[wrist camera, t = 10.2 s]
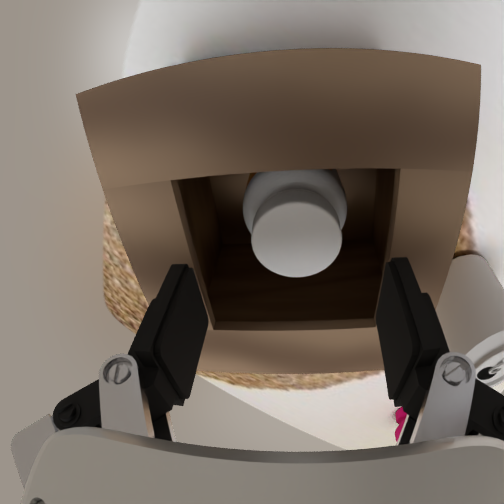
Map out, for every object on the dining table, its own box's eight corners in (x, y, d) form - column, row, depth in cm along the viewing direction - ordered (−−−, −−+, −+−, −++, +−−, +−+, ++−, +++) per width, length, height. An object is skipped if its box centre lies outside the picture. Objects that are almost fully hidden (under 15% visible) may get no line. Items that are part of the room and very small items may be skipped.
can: (412, 286, 29) (444, 388, 20) (464, 236, 25) (520, 333, 15) (450, 312, 31) (480, 401, 21) (496, 269, 27) (542, 357, 17)
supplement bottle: (237, 156, 21) (208, 232, 14) (300, 110, 19) (312, 160, 11) (284, 210, 24) (283, 305, 16) (345, 171, 21) (378, 254, 14)
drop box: (183, 64, 19) (75, 94, 9) (381, 50, 17) (480, 65, 7) (218, 246, 29) (180, 368, 18) (375, 240, 27) (411, 366, 16)
